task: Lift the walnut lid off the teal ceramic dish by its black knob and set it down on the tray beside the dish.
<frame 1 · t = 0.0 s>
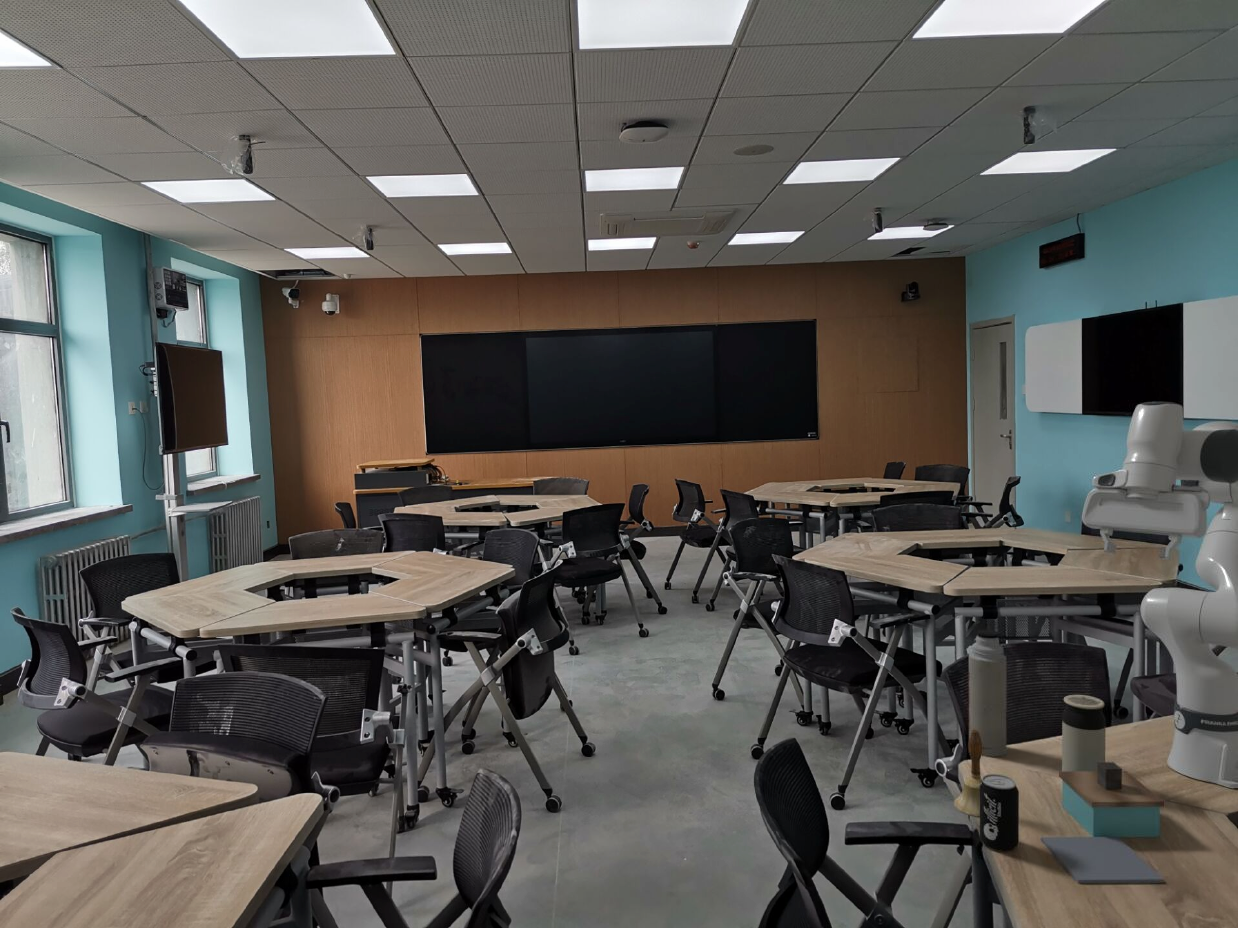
hand: (1136, 555, 157), 52 cm above the table, tool tilted 20°, fingers open, 8 cm apart
travel mug: (1083, 784, 179), on the table
dish: (1109, 820, 163), on the table
tray: (1099, 860, 150), on the table
lid: (1109, 790, 163), point 6 cm above the table, touching dish
thermos bottle: (987, 750, 197), on the table
hand bell: (975, 808, 170), on the table
beverage can: (999, 844, 156), on the table
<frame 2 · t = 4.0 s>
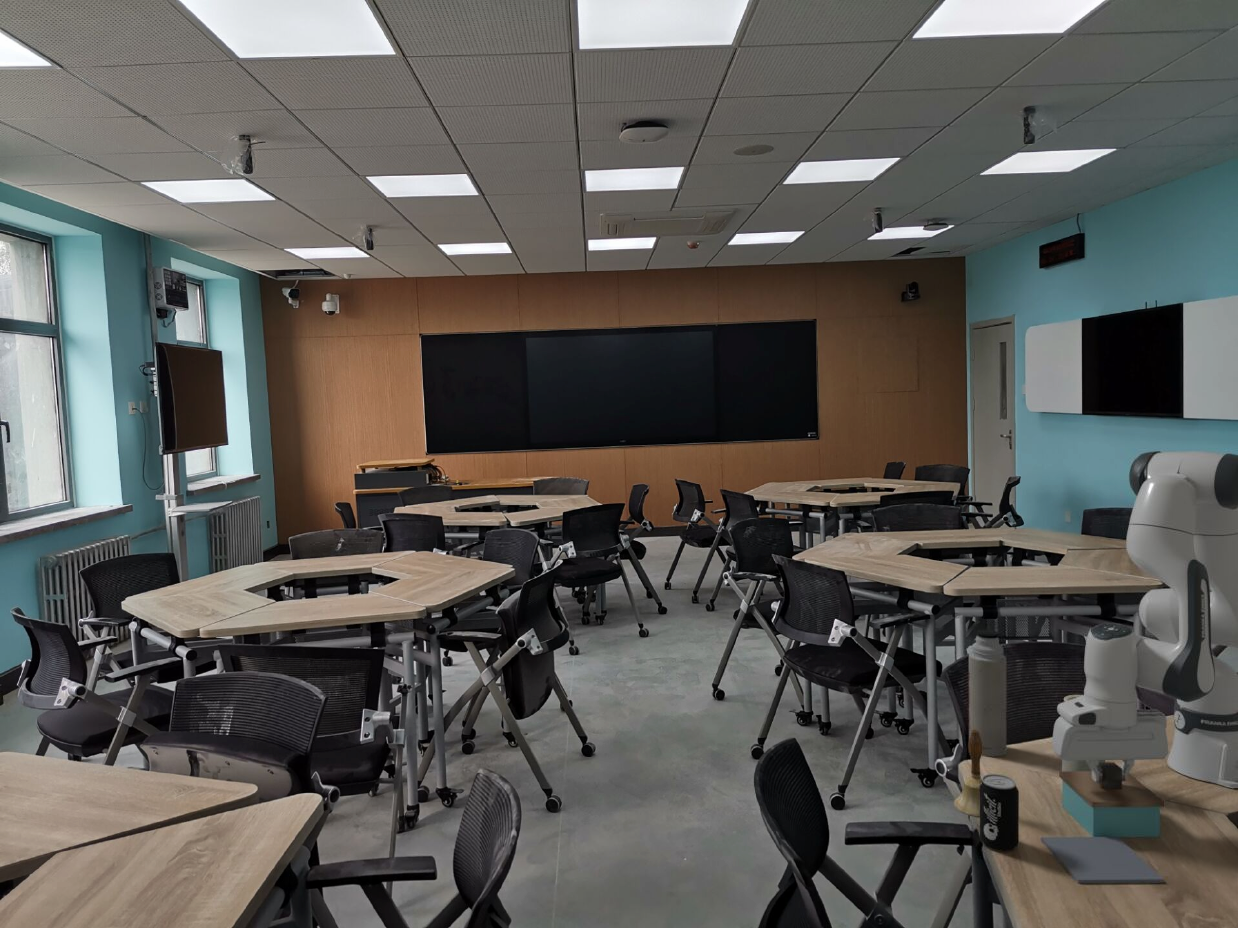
hand: (1109, 780, 163), 8 cm above the table, tool pointing down, fingers closed on lid, 3 cm apart
lid: (1109, 790, 163), point 6 cm above the table, touching dish, gripper
everything else where it was.
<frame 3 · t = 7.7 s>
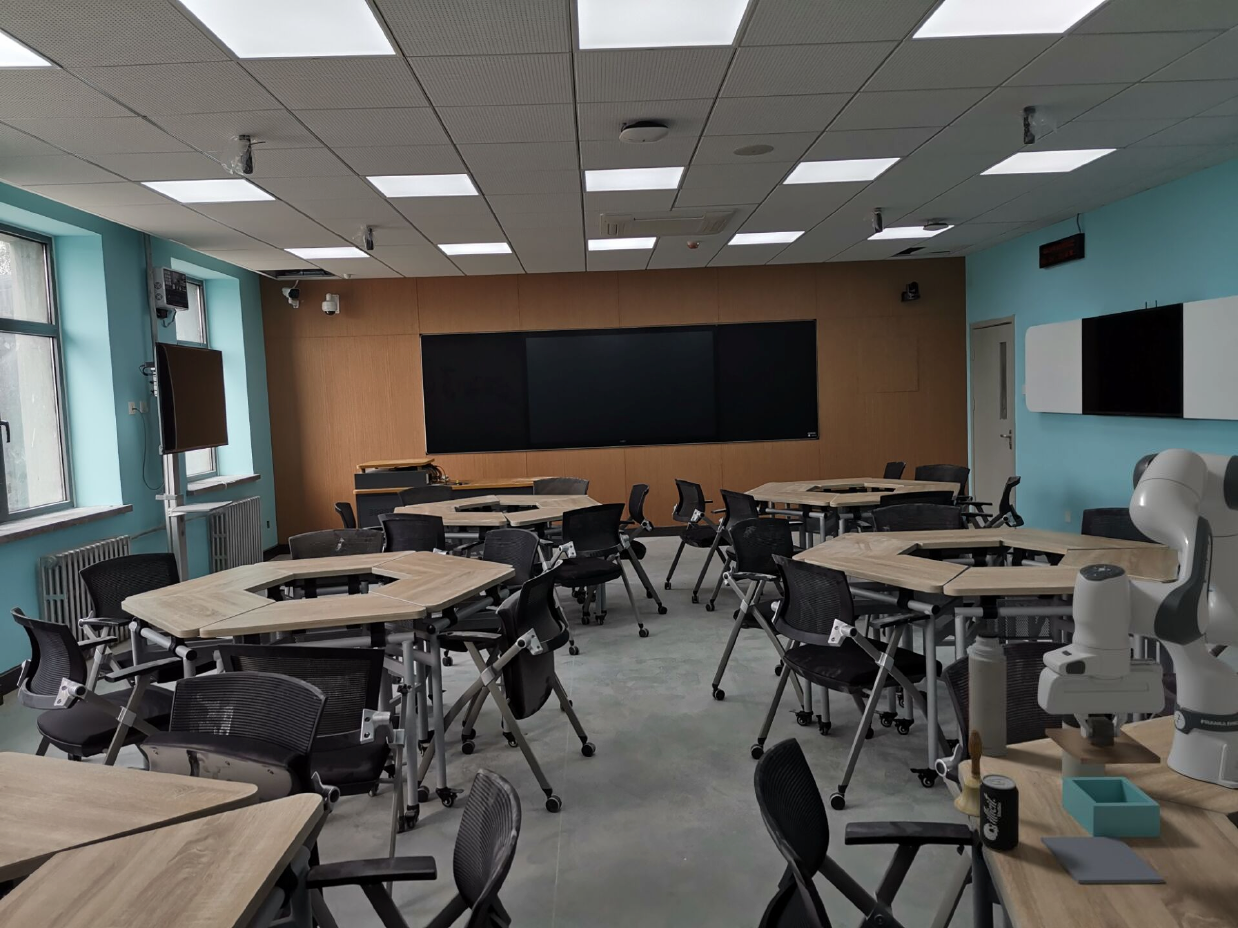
hand: (1100, 736, 148), 23 cm above the table, tool pointing down, fingers closed on lid, 3 cm apart
lid: (1100, 747, 148), point 20 cm above the table, touching gripper
everything else where it was.
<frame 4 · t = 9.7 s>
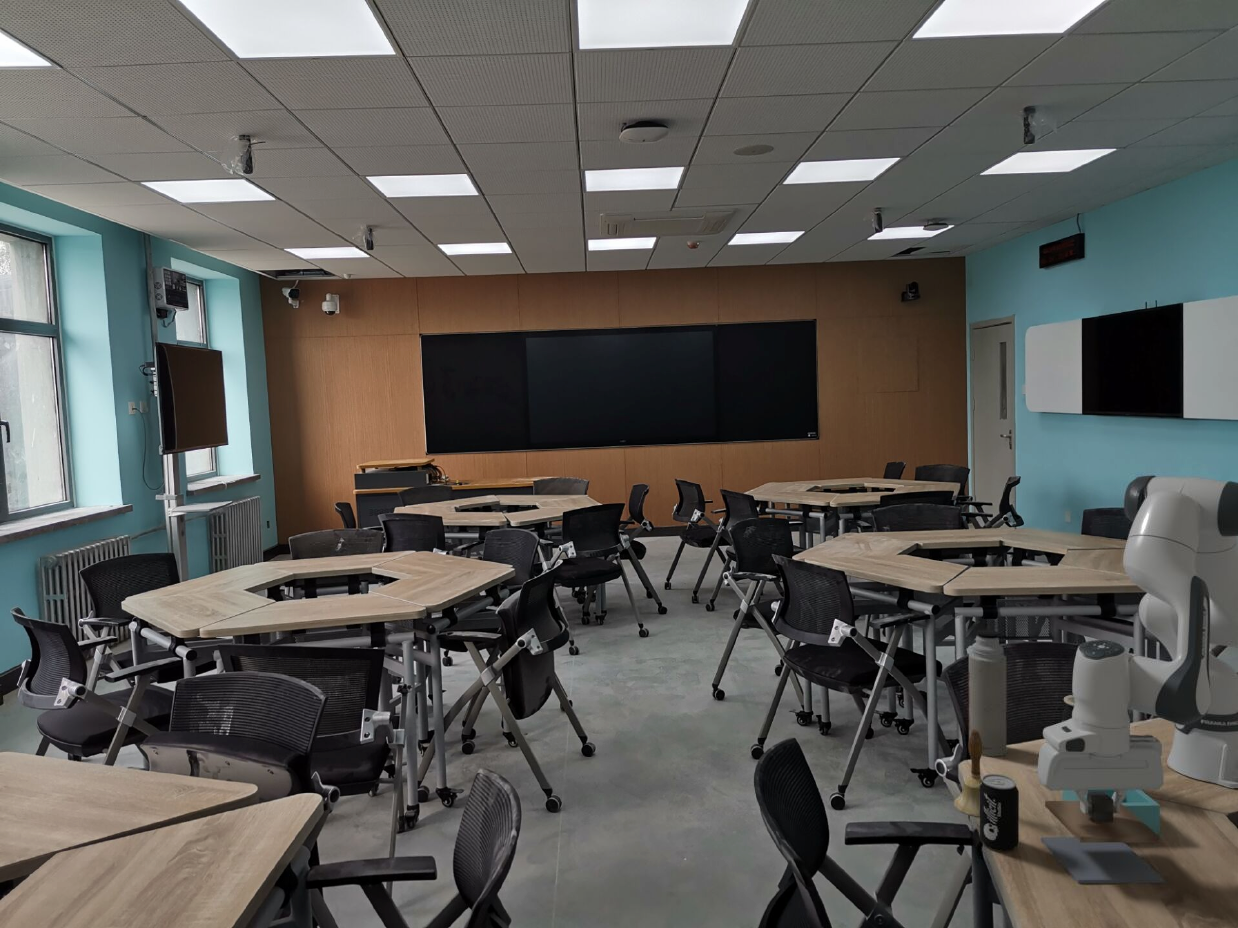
hand: (1099, 811, 149), 9 cm above the table, tool pointing down, fingers closed on lid, 3 cm apart
lid: (1099, 823, 149), point 7 cm above the table, touching gripper
everything else where it was.
when the fingers open (4 cm above the table, at t = 11.5 s): lid drops 1 cm, resting on tray.
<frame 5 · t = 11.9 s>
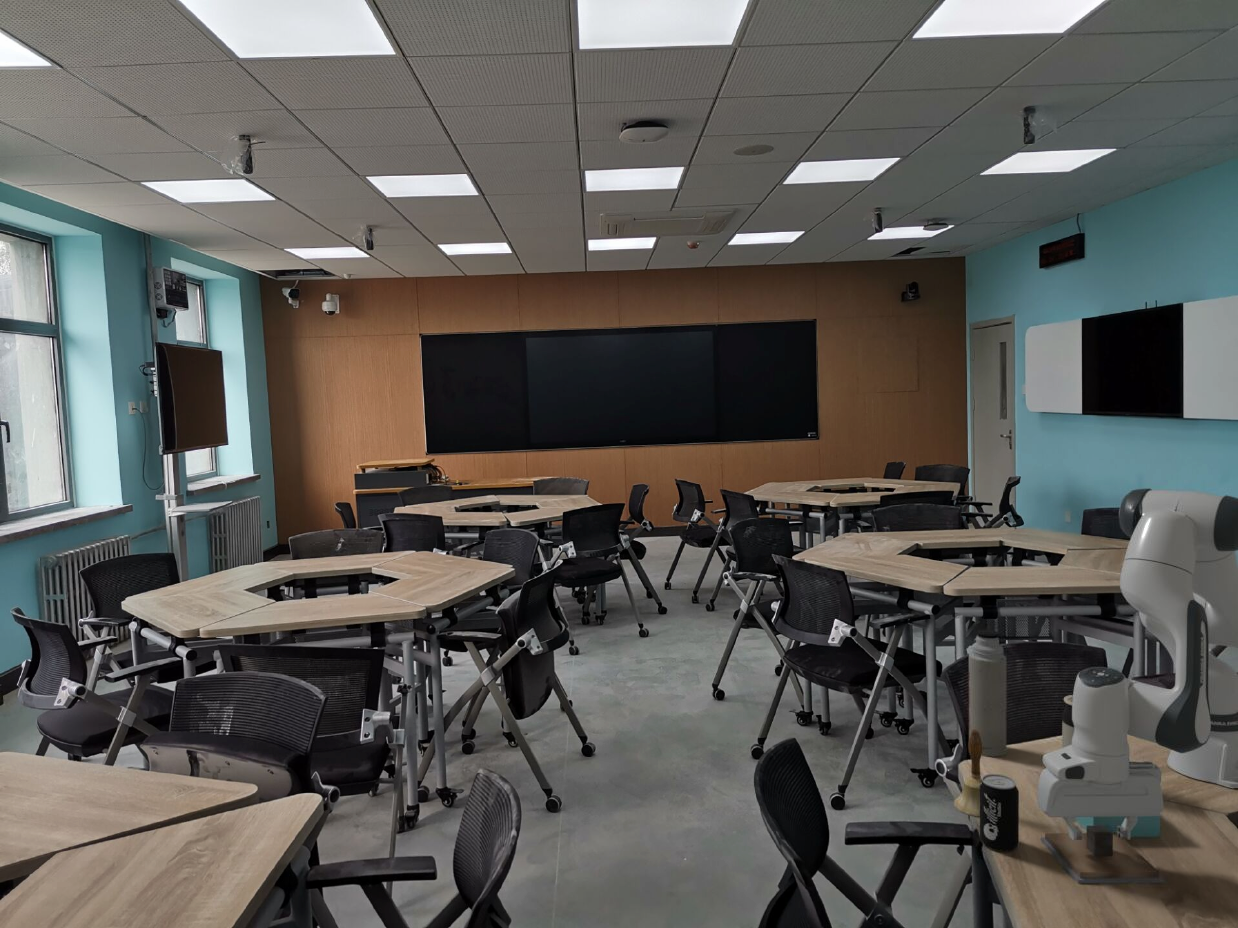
hand: (1099, 838, 149), 4 cm above the table, tool pointing down, fingers open, 7 cm apart
lid: (1099, 857, 150), point 1 cm above the table, touching tray
everything else where it was.
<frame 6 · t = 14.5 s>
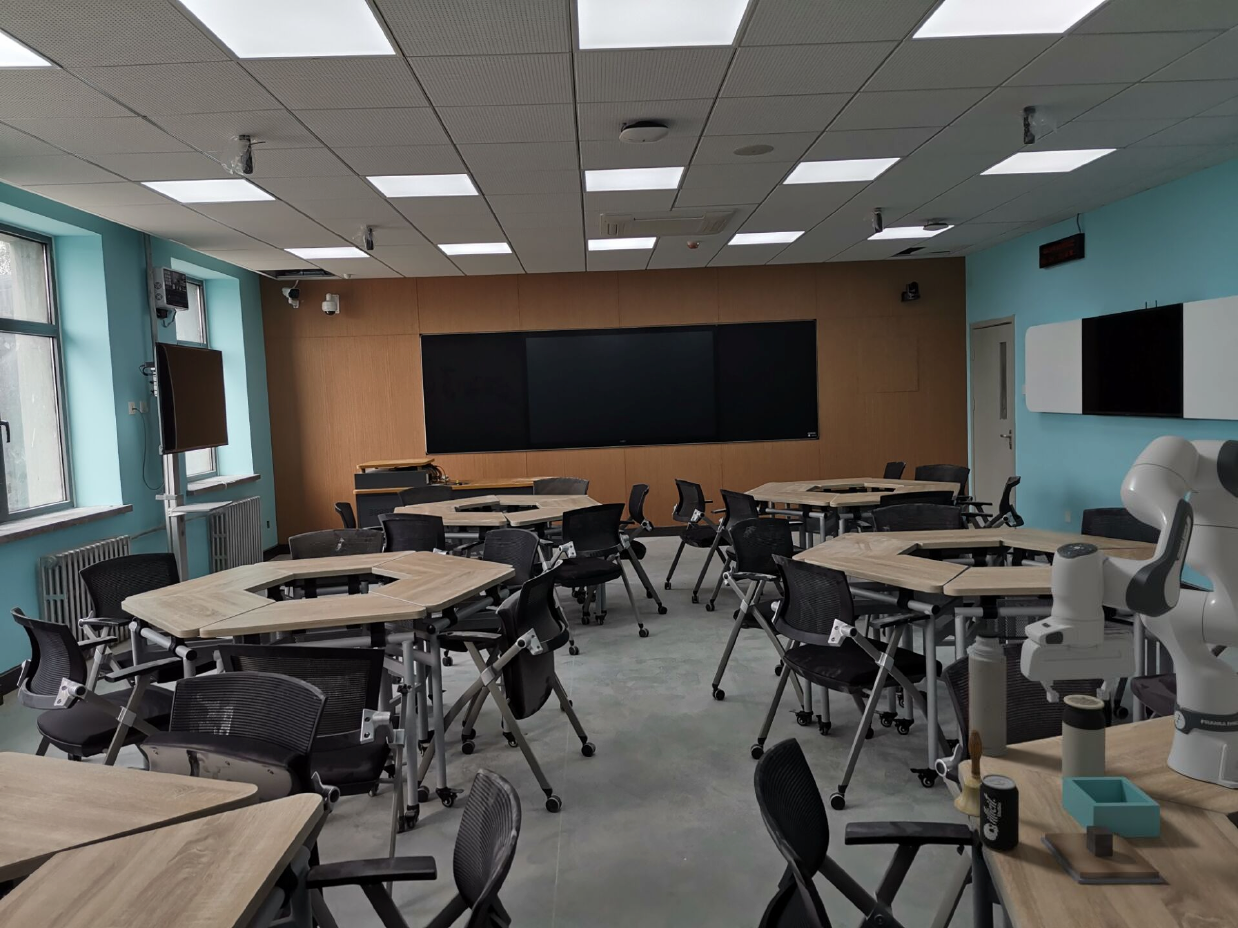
hand: (1077, 700, 162), 24 cm above the table, tool pointing down, fingers open, 8 cm apart
nothing on the table moved.
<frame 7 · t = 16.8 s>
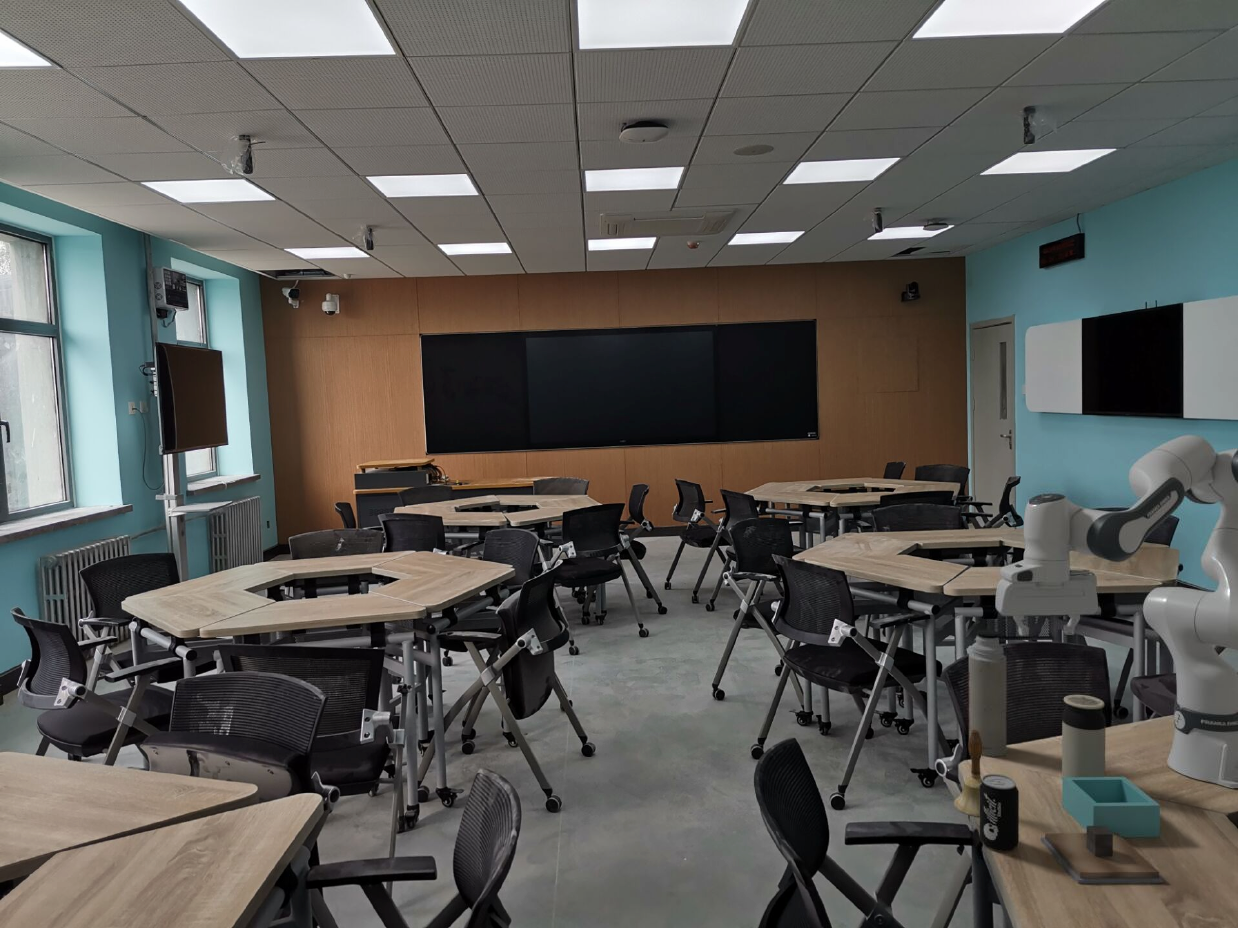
hand: (1046, 634, 181), 31 cm above the table, tool pointing down, fingers open, 8 cm apart
nothing on the table moved.
at the end: lid inside the target area on the tray (0.0 cm from its centre), point 0.6 cm above the tray's base; lid touching tray; the gripper is holding nothing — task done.
